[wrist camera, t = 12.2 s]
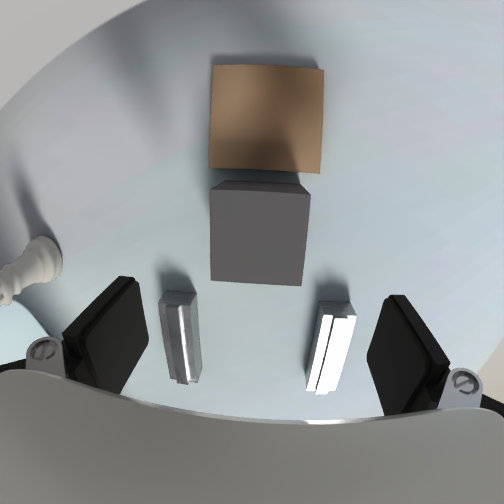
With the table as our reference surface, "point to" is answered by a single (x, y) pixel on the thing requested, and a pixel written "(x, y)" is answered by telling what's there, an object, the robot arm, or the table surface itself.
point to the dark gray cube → (258, 232)
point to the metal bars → (189, 354)
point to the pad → (266, 118)
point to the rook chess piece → (30, 268)
